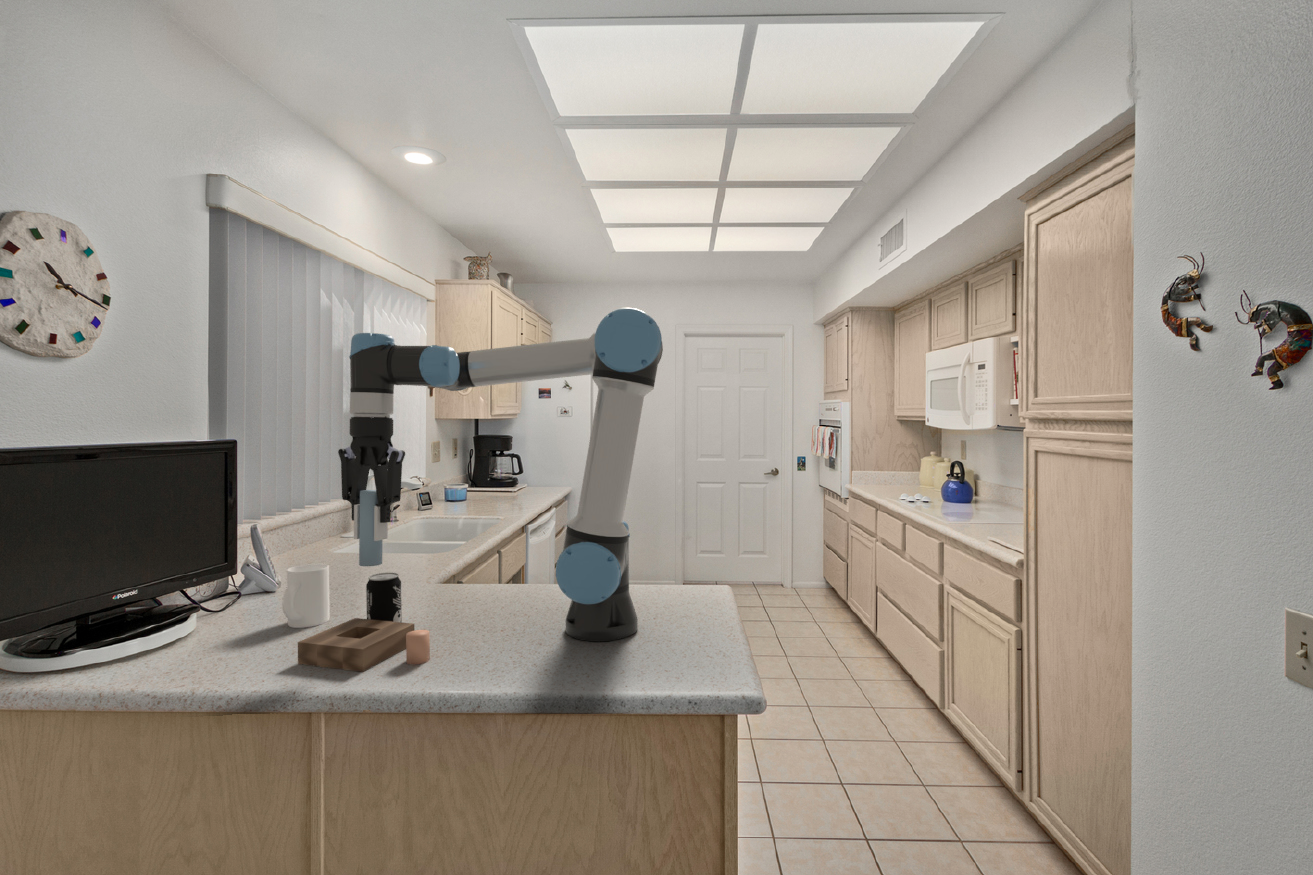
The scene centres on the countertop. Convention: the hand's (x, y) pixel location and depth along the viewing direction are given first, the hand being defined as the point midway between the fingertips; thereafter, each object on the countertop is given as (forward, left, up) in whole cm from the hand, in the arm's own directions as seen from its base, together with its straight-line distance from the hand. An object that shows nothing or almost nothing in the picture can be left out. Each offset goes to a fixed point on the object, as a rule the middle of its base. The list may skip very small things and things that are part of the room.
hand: (370, 538), depth 115 cm
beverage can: (+4, -9, -22) cm, 24 cm away
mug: (+25, -9, -22) cm, 35 cm away
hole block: (+2, +2, -22) cm, 22 cm away
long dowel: (0, 0, -5) cm, 5 cm away
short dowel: (-11, +2, -22) cm, 25 cm away
